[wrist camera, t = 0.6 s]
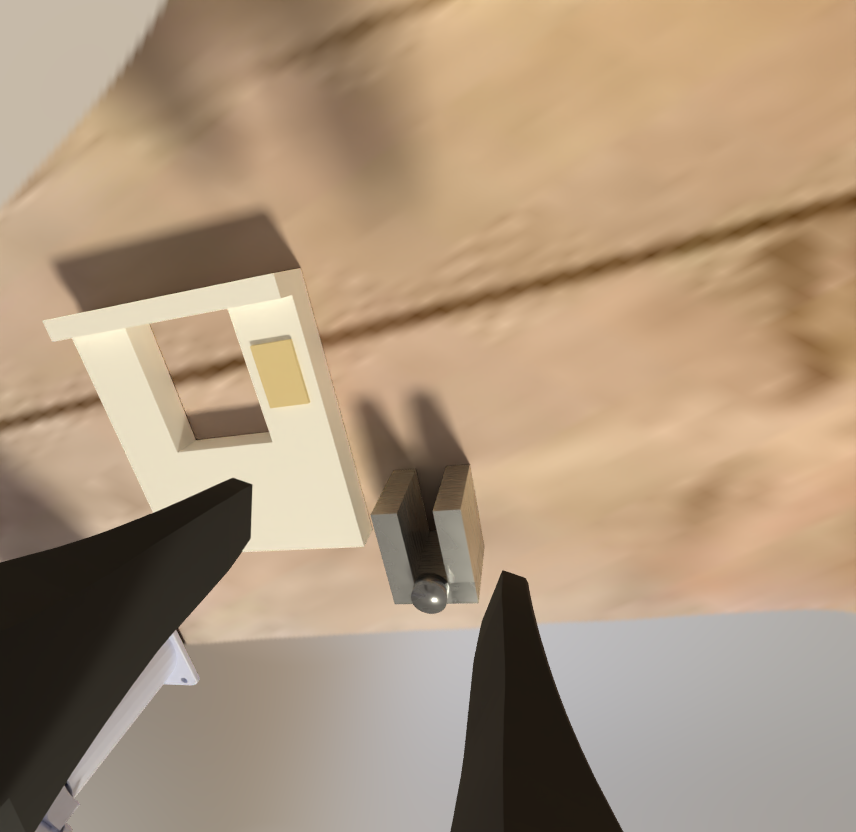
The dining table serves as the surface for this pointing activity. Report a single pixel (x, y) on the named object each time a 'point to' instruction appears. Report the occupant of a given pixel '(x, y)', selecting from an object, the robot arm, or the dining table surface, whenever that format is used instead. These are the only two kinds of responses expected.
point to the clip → (430, 540)
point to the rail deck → (244, 454)
